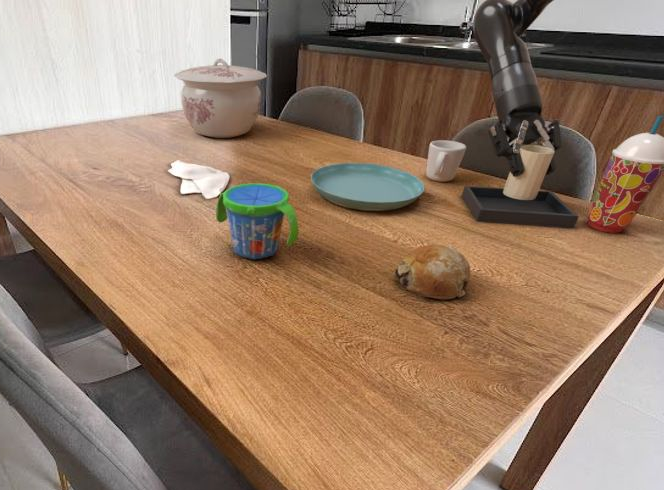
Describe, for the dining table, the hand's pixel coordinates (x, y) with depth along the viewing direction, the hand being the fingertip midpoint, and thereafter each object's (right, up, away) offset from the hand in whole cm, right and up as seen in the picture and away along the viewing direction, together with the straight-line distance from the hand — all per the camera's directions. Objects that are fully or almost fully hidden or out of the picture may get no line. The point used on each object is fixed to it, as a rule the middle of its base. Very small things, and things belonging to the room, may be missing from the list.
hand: (534, 173), depth 86 cm
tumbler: (0, -3, +4) cm, 5 cm away
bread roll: (-27, -23, -17) cm, 40 cm away
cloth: (-66, +5, +21) cm, 70 cm away
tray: (0, -6, +6) cm, 8 cm away
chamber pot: (-63, +31, +57) cm, 90 cm away
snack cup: (-54, -16, -9) cm, 57 cm away
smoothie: (+14, -10, 0) cm, 17 cm away
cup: (-9, +5, +21) cm, 24 cm away
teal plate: (-29, -1, +13) cm, 32 cm away
